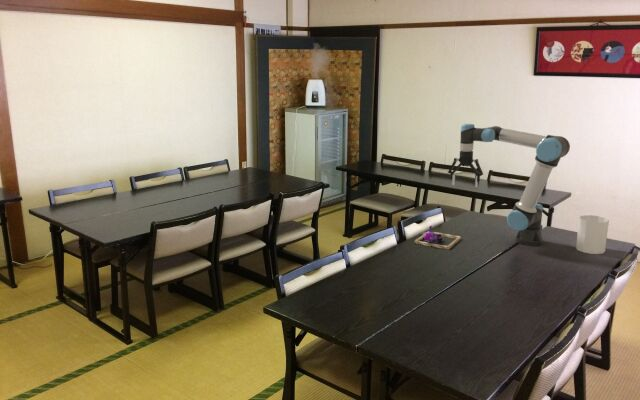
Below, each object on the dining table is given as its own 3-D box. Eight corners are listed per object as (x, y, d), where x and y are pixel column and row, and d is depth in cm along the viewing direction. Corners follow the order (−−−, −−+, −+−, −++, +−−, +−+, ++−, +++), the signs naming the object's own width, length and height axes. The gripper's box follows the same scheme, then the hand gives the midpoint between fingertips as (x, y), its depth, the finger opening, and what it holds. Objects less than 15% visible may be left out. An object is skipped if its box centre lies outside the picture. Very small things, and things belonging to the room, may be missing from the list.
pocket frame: (461, 238, 316) (461, 236, 315) (448, 249, 297) (448, 246, 297) (423, 232, 328) (423, 230, 328) (409, 242, 309) (409, 240, 309)
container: (597, 256, 287) (602, 223, 283) (571, 249, 298) (574, 218, 293) (608, 250, 296) (613, 218, 292) (582, 244, 307) (586, 213, 302)
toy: (448, 244, 308) (434, 244, 298) (435, 251, 314) (420, 250, 304) (441, 225, 313) (427, 224, 302) (428, 232, 319) (414, 231, 308)
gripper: (489, 150, 311) (487, 186, 315) (447, 148, 323) (445, 183, 327) (486, 152, 304) (484, 189, 309) (443, 150, 316) (442, 185, 321)
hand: (464, 186), depth 318 cm, fingers open, 13 cm apart
